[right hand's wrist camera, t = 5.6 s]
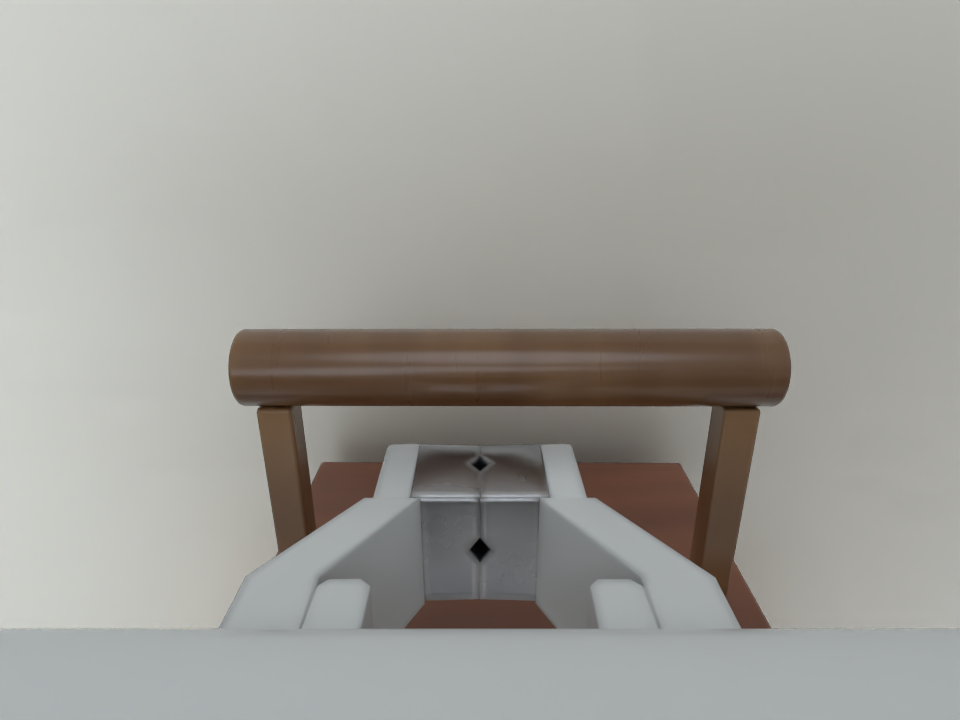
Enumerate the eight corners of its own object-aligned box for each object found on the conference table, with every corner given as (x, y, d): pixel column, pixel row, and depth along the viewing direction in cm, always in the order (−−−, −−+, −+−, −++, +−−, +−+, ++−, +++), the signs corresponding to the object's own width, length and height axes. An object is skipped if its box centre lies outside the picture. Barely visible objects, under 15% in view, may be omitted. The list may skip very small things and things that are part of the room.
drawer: (298, 264, 15) (155, 370, 8) (706, 263, 14) (871, 371, 8) (364, 830, 22) (316, 1104, 16) (630, 834, 22) (686, 1112, 16)
